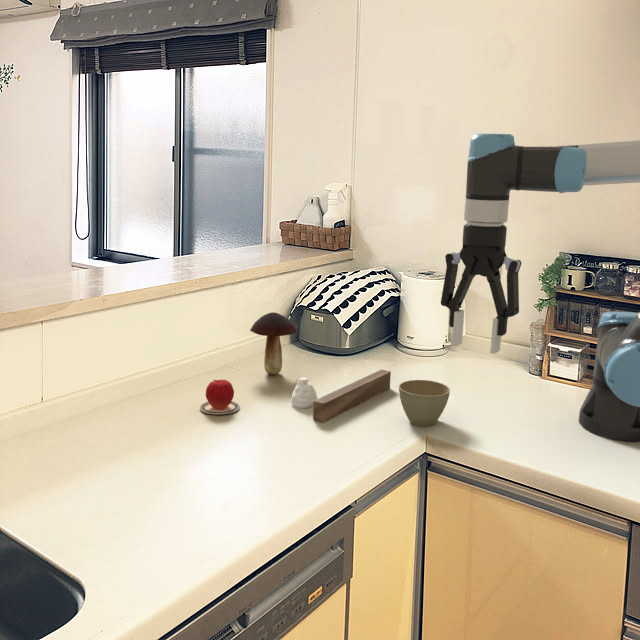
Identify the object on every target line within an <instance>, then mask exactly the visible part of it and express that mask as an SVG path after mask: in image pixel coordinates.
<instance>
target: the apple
mask: <svg viewBox="0 0 640 640" xmlns="http://www.w3.org/2000/svg"><path fill="white" fill-rule="evenodd" d="M234 397H235V389H234V387H233V385H232V382H230V381H229V380H227V379H218V380H217V379H213V380H212V381H211V382H209V384H208V385H207V386H206V389H205V398H206V400H207V401H205V402H203V403H202V404H201V405H199V409H200V411H202V412H203V413H205V414H210V415H228V414H232V413H235V412H236V411H238V410H239V409H240V404H239V403H238V402H236V401H233V399H234Z"/></svg>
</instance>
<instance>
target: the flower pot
mask: <svg viewBox="0 0 640 640" xmlns="http://www.w3.org/2000/svg"><path fill="white" fill-rule="evenodd" d="M450 393H451V388H450V387H449V386H448V385H447V384H444V383H441V382H438V381H435V380H428V379H412V380H405V381H403V382H401V383H399V385H398V394H399V399H400V403H401V406H402V409H403V411H404V414H405V416H406V417H407V420H408V421H409V422H410V423H411V424H413V425H415V426H420V427H429V426H433V425H435V424H436V423H437V421H438V420H440V419H439V418H440V417H441V416H442V414H443V412H444V410H445V408H446V406H447V403H448V400H449V398H450Z"/></svg>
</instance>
